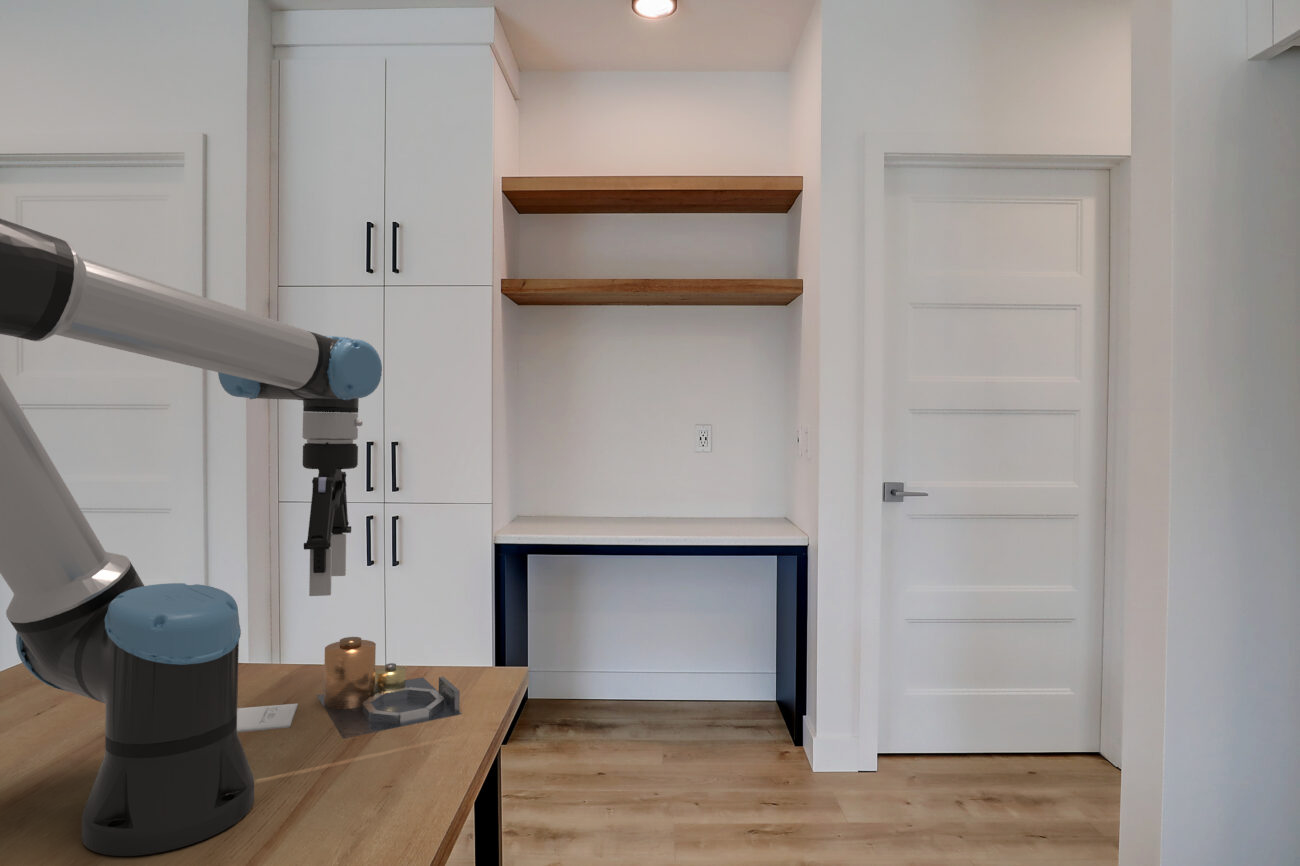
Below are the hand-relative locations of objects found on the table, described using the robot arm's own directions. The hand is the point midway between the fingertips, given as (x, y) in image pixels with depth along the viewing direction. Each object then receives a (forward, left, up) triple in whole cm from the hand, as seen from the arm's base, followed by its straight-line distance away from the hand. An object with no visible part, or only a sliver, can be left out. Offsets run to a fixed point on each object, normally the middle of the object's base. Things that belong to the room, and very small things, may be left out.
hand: (328, 585), depth 110 cm
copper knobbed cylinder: (-2, -3, -17) cm, 17 cm away
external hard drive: (-3, +11, -18) cm, 21 cm away
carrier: (-7, -7, -18) cm, 20 cm away
